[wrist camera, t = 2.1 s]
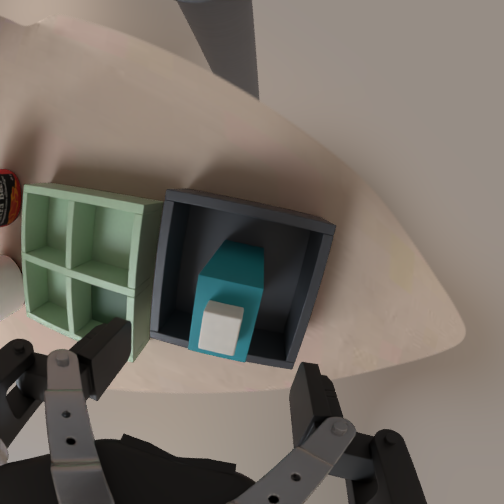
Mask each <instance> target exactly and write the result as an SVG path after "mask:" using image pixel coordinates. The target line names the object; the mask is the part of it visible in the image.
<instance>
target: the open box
mask: <svg viewBox="0 0 504 504" xmlns="http://www.w3.org/2000/svg"><path fill="white" fill-rule="evenodd" d="M335 228H336V225H334V224H333V223H331V222H329V221H327V220H325V219H323V218H321V217H318V216H314V215H310V214H305V213H301V212H297V211H293V210H288V209H284V208H280V207H275V206H271V205H266V204H262V203H257V202H252V201H248V200H243V199H238V198H233V197H228V196H223V195H218V194H213V193H208V192H203V191H197V190H192V189H167V190H166V195H165V201H164V207H163V213H162V219H161V226H160V233H159V240H158V248H157V256H156V264H155V274H154V284H153V294H152V307H151V321H150V338H154V339H157V340H160V341H164V342H167V343H171V344H174V345H178V346H182V347H186V348H188V344H189V337H190V329H191V322H192V315H193V308H194V301H195V294H196V288H197V281H198V275H199V274H200V272H201V271H202V270H203V268H204V267H205V266H206V264H207V263H208V262H209V260H210V259H211V258H212V256H213V255H214V254H215V252H216V251H217V250H218V248H219V247H220V246H221V245H222V243H223V242H224V241H225V240H229V241H234V242H238V243H243V244H248V245H252V246H257V247H261V248H264V290H263V294H262V298H261V302H260V306H259V310H258V314H257V318H256V322H255V326H254V330H253V334H252V338H251V342H250V346H249V350H248V354H247V358H246V362H251V363H257V364H262V365H268V366H273V367H280V368H286V369H293V366H294V362H295V361H296V358H297V355H298V352H299V349H300V346H301V343H302V341H303V338H304V335H305V332H306V329H307V326H308V322H309V319H310V316H311V313H312V310H313V307H314V304H315V300H316V297H317V294H318V290H319V287H320V284H321V280H322V277H323V273H324V270H325V266H326V263H327V259H328V255H329V252H330V248H331V244H332V240H333V235H334V232H335Z"/></svg>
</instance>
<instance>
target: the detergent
mask: <svg viewBox="0 0 504 504" xmlns="http://www.w3.org/2000/svg"><path fill="white" fill-rule="evenodd" d="M263 290H264V248H261V247H257V246H252V245H248V244H243V243H238V242H234V241H229V240H225V241H224V242H223V243H222V245H221V246H220V247H219V248H218V250H217V251H216V252H215V254H214V255H213V256H212V258H211V259H210V260H209V262H208V263H207V264H206V266H205V267H204V268H203V270H202V271H201V272H200V274H199V275H198V281H197V288H196V294H195V301H194V308H193V315H192V322H191V329H190V337H189V344H188V349H189V350H192V351H196V352H200V353H205V354H209V355H213V356H217V357H222V358H226V359H231V360H236V361H240V362H246V358H247V354H248V350H249V346H250V342H251V338H252V334H253V330H254V326H255V322H256V318H257V314H258V310H259V306H260V302H261V298H262V294H263Z"/></svg>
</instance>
